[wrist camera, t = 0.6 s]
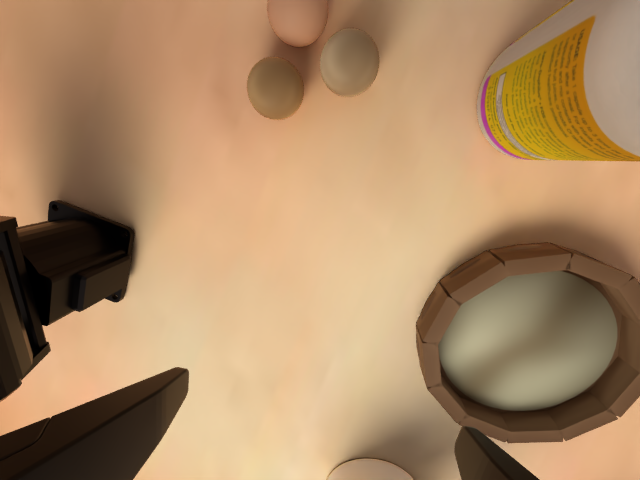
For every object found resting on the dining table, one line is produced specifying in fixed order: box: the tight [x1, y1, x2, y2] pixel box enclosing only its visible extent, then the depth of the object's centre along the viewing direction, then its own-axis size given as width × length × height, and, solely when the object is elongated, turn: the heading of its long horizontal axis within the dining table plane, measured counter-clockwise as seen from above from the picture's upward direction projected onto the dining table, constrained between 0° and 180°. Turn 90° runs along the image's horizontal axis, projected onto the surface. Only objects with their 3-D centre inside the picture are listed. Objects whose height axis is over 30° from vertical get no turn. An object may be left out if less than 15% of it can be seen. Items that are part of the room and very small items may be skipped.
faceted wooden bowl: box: [416, 243, 640, 443], centre depth 20 cm, size 14×14×2 cm
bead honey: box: [247, 57, 304, 120], centre depth 17 cm, size 3×3×3 cm
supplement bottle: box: [477, 0, 640, 161], centre depth 11 cm, size 7×7×13 cm
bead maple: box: [320, 28, 379, 97], centre depth 16 cm, size 3×3×3 cm
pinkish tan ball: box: [267, 0, 328, 47], centre depth 16 cm, size 3×3×3 cm
